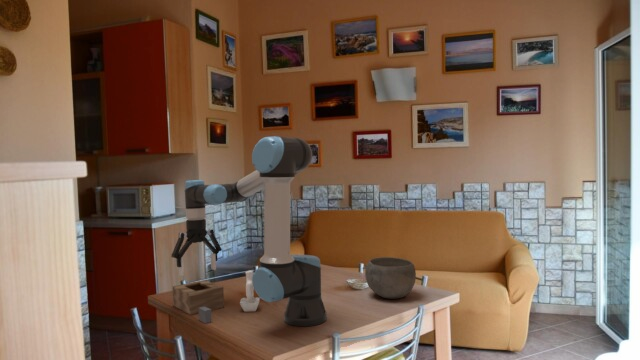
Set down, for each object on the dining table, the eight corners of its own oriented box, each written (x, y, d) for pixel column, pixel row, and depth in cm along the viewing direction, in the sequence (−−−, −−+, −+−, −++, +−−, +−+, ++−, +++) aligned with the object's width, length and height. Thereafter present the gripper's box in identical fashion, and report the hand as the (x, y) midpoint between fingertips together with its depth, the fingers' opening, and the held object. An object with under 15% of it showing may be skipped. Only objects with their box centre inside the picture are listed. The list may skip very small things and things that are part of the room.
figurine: (239, 313, 171) (238, 274, 171) (242, 306, 181) (241, 268, 181) (259, 313, 172) (258, 273, 172) (260, 305, 181) (259, 268, 181)
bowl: (426, 299, 185) (425, 262, 184) (381, 306, 177) (380, 268, 177) (398, 287, 204) (398, 254, 204) (357, 293, 196) (356, 258, 196)
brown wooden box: (223, 307, 180) (223, 287, 180) (190, 315, 171) (189, 294, 171) (205, 299, 192) (204, 280, 192) (173, 306, 183) (172, 286, 183)
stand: (211, 321, 163) (211, 309, 163) (205, 323, 161) (204, 310, 161) (205, 318, 167) (204, 306, 167) (198, 320, 165) (198, 307, 165)
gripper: (219, 215, 192) (221, 266, 192) (161, 221, 175) (163, 276, 176) (228, 216, 186) (230, 268, 186) (169, 222, 170) (171, 279, 170)
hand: (198, 272), depth 181 cm, fingers open, 13 cm apart
